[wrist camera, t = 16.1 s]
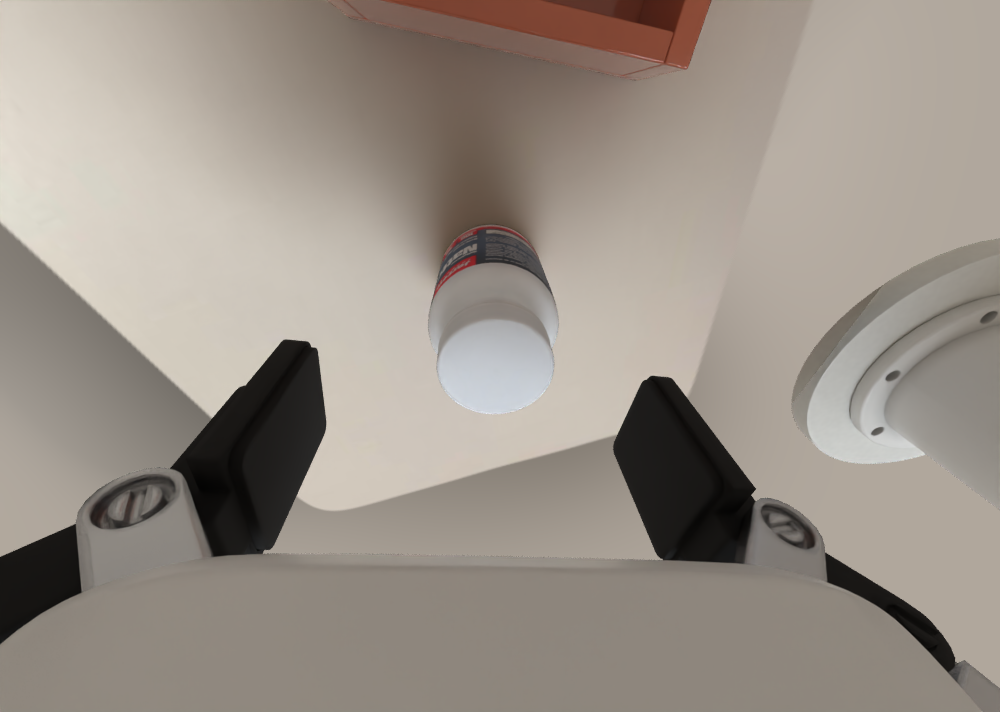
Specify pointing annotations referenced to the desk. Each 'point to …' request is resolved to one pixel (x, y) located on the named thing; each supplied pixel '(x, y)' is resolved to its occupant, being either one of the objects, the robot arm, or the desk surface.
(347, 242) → the desk surface
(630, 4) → the terracotta bin
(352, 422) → the desk surface
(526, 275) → the pill bottle
